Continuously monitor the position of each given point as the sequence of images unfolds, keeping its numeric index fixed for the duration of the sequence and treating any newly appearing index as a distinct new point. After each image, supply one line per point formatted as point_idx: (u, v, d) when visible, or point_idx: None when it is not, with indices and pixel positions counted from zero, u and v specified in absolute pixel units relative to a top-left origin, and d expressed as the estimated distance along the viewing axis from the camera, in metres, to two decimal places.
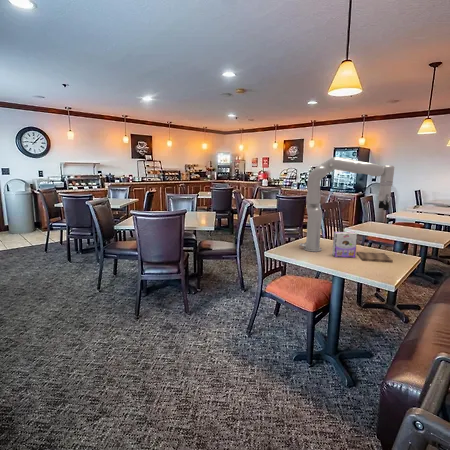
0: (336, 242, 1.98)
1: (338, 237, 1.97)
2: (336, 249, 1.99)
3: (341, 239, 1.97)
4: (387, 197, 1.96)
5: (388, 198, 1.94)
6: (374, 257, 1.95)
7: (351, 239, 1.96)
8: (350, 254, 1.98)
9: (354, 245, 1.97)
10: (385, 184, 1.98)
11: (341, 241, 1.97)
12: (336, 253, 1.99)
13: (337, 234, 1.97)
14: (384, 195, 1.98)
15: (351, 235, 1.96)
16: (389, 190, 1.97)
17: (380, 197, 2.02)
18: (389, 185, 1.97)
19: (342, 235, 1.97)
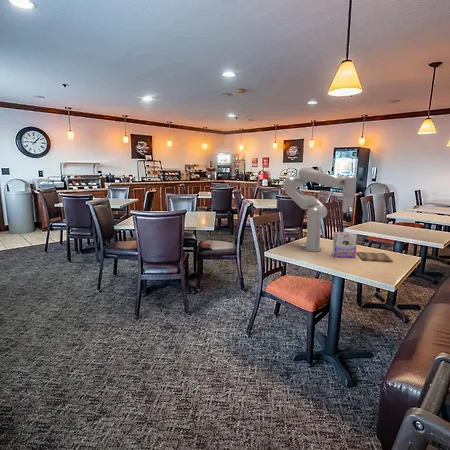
0: (336, 242, 1.98)
1: (338, 237, 1.97)
2: (336, 249, 1.99)
3: (341, 239, 1.97)
4: (349, 209, 1.89)
5: (350, 210, 1.87)
6: (374, 257, 1.95)
7: (351, 239, 1.96)
8: (350, 254, 1.98)
9: (354, 245, 1.97)
10: (347, 195, 1.91)
11: (341, 241, 1.97)
12: (336, 253, 1.99)
13: (337, 234, 1.97)
14: (346, 207, 1.91)
15: (351, 235, 1.96)
16: (351, 202, 1.90)
17: (343, 209, 1.96)
18: (351, 196, 1.90)
19: (342, 235, 1.97)
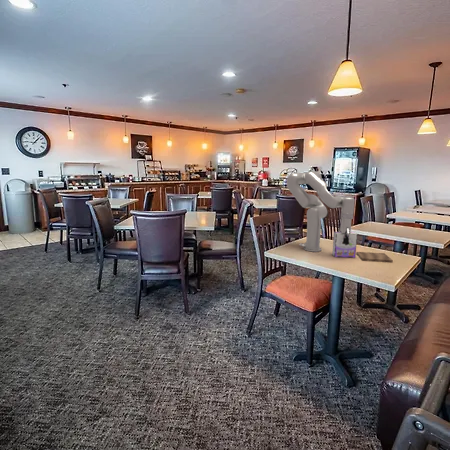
0: (336, 242, 1.98)
1: (338, 237, 1.97)
2: (336, 249, 1.99)
3: (341, 239, 1.97)
4: (346, 232, 1.92)
5: (347, 233, 1.91)
6: (374, 257, 1.95)
7: (351, 239, 1.96)
8: (350, 254, 1.98)
9: (354, 245, 1.97)
10: (345, 217, 1.94)
11: (341, 241, 1.97)
12: (336, 253, 1.99)
13: (337, 234, 1.97)
14: (344, 228, 1.94)
15: (351, 235, 1.96)
16: (349, 223, 1.93)
17: (341, 229, 1.98)
18: (349, 218, 1.93)
19: (342, 235, 1.97)
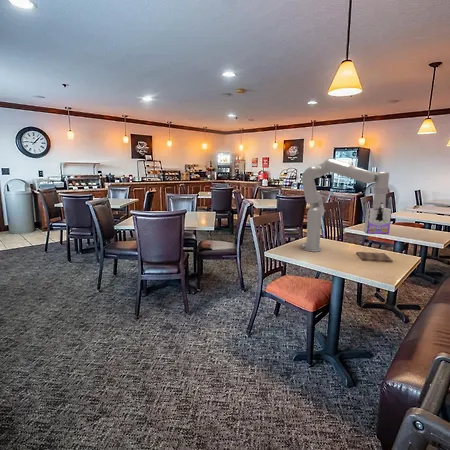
0: (369, 218, 1.91)
1: (371, 212, 1.91)
2: (369, 225, 1.92)
3: (375, 214, 1.90)
4: (381, 207, 1.86)
5: (382, 209, 1.85)
6: (374, 257, 1.95)
7: (385, 214, 1.90)
8: (383, 231, 1.92)
9: (387, 221, 1.91)
10: (379, 191, 1.87)
11: (375, 217, 1.91)
12: (369, 230, 1.93)
13: (370, 210, 1.90)
14: (378, 203, 1.87)
15: (385, 211, 1.90)
16: (384, 198, 1.86)
17: (374, 205, 1.92)
18: (384, 193, 1.87)
19: (376, 211, 1.90)
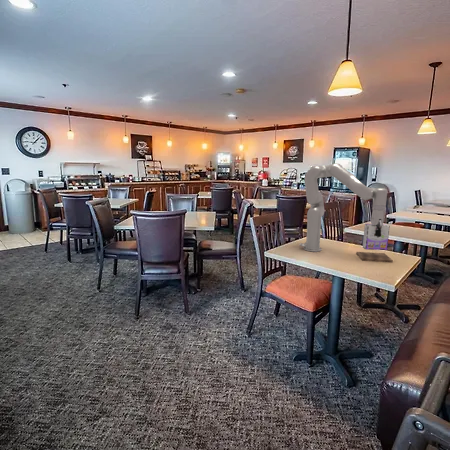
0: (368, 234, 1.93)
1: (369, 228, 1.92)
2: (367, 241, 1.94)
3: (373, 230, 1.92)
4: (379, 223, 1.88)
5: (380, 225, 1.87)
6: (374, 257, 1.95)
7: (383, 230, 1.92)
8: (382, 247, 1.94)
9: (386, 237, 1.92)
10: (378, 208, 1.89)
11: (373, 233, 1.93)
12: (367, 245, 1.95)
13: (369, 226, 1.92)
14: (377, 220, 1.89)
15: (383, 227, 1.91)
16: (382, 214, 1.88)
17: (373, 221, 1.94)
18: (382, 209, 1.89)
19: (374, 227, 1.92)
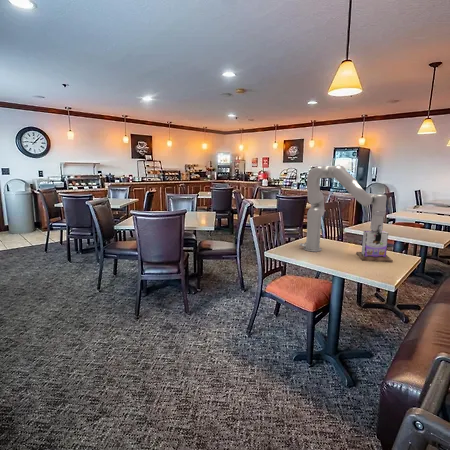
0: (366, 241, 1.95)
1: (368, 236, 1.94)
2: (366, 248, 1.95)
3: (372, 238, 1.94)
4: (379, 228, 1.88)
5: (380, 229, 1.86)
6: (374, 257, 1.95)
7: (381, 238, 1.93)
8: (380, 254, 1.95)
9: (384, 244, 1.94)
10: (377, 214, 1.90)
11: (372, 240, 1.94)
12: (366, 252, 1.96)
13: (367, 233, 1.94)
14: (376, 225, 1.90)
15: (382, 234, 1.93)
16: (381, 220, 1.89)
17: (372, 227, 1.95)
18: (381, 215, 1.89)
19: (373, 234, 1.93)
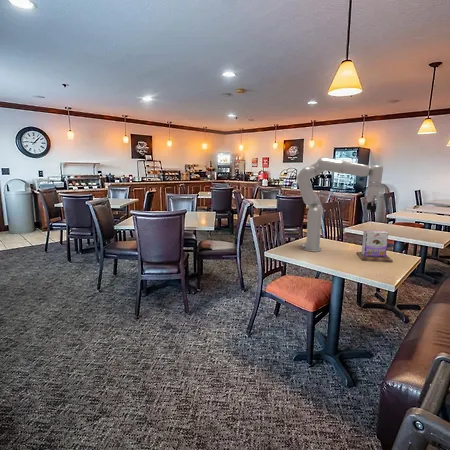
0: (366, 241, 1.95)
1: (368, 236, 1.94)
2: (366, 248, 1.95)
3: (372, 238, 1.94)
4: (374, 198, 1.89)
5: (375, 199, 1.87)
6: (374, 257, 1.95)
7: (381, 238, 1.93)
8: (380, 254, 1.95)
9: (384, 244, 1.94)
10: (373, 185, 1.91)
11: (372, 240, 1.94)
12: (366, 252, 1.96)
13: (367, 233, 1.94)
14: (371, 196, 1.91)
15: (382, 234, 1.93)
16: (377, 191, 1.90)
17: (368, 198, 1.95)
18: (377, 186, 1.90)
19: (373, 234, 1.93)
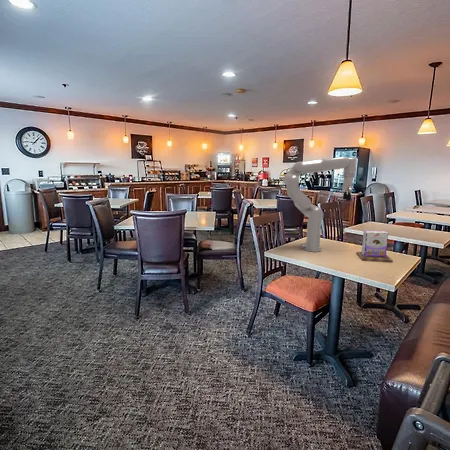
0: (366, 241, 1.95)
1: (368, 236, 1.94)
2: (366, 248, 1.95)
3: (372, 238, 1.94)
4: (349, 188, 2.04)
5: (349, 189, 2.03)
6: (374, 257, 1.95)
7: (381, 238, 1.93)
8: (380, 254, 1.95)
9: (384, 244, 1.94)
10: (347, 175, 2.07)
11: (372, 240, 1.94)
12: (366, 252, 1.96)
13: (367, 233, 1.94)
14: (346, 186, 2.07)
15: (382, 234, 1.93)
16: (351, 181, 2.06)
17: (343, 188, 2.11)
18: (351, 176, 2.06)
19: (373, 234, 1.93)
